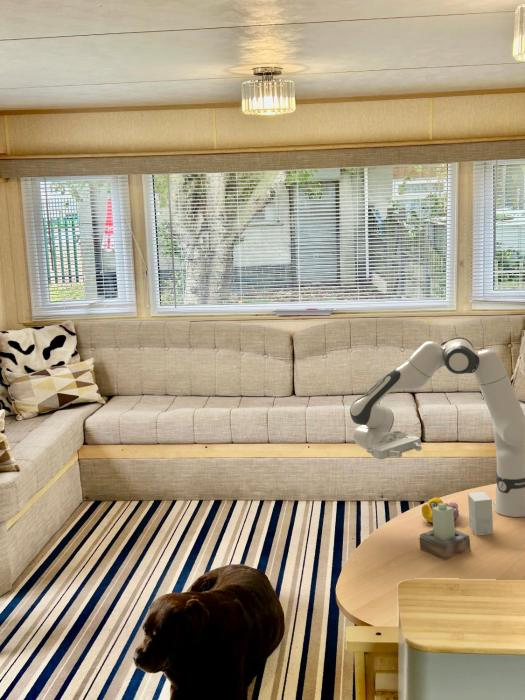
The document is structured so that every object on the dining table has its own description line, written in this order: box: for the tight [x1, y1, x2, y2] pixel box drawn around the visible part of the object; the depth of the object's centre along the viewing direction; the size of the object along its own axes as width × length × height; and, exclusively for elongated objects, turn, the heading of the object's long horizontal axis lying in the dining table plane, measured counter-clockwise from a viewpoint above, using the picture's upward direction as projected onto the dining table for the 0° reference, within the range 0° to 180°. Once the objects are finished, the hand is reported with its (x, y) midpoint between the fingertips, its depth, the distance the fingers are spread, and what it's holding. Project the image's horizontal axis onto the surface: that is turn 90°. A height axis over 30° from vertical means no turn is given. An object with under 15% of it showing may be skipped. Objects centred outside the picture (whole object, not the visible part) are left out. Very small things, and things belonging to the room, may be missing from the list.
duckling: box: [421, 497, 449, 524], centre depth 286 cm, size 11×5×10 cm, turn 43°
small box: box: [467, 491, 494, 536], centre depth 275 cm, size 8×6×13 cm
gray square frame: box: [418, 528, 471, 561], centre depth 264 cm, size 12×12×5 cm
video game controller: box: [448, 502, 460, 520], centre depth 288 cm, size 10×5×7 cm, turn 171°
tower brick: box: [432, 502, 456, 541], centre depth 263 cm, size 5×5×12 cm
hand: (410, 451), depth 278 cm, fingers open, 8 cm apart
